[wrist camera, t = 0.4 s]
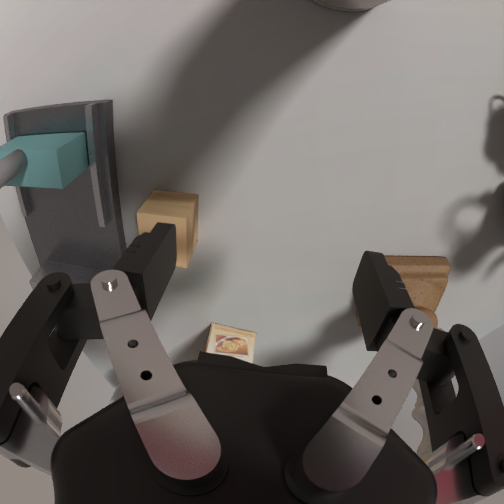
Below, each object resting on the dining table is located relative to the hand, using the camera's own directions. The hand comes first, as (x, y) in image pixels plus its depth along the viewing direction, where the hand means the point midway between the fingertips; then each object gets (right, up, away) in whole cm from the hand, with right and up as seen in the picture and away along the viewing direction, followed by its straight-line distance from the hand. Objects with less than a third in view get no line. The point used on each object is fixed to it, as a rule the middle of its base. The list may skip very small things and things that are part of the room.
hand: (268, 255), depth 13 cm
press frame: (-24, +5, +21) cm, 32 cm away
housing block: (-9, +4, +21) cm, 23 cm away
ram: (-23, +12, +14) cm, 29 cm away
